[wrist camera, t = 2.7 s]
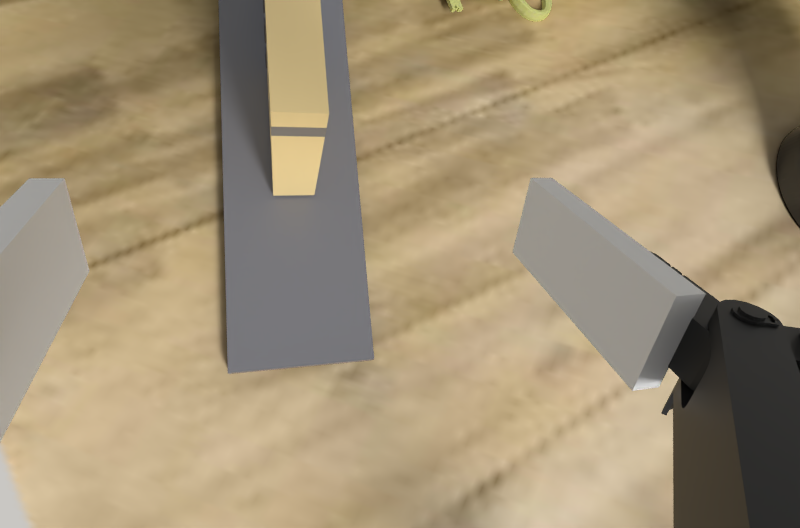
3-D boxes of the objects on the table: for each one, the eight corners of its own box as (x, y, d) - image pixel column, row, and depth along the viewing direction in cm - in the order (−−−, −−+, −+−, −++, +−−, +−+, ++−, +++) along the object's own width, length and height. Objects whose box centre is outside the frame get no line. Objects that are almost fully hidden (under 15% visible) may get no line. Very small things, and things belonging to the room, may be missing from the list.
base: (218, -54, 42) (216, -69, 41) (335, -42, 45) (337, -55, 43) (230, 373, 34) (227, 373, 33) (370, 360, 37) (374, 359, 35)
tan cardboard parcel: (267, 75, 38) (262, -51, 27) (306, 76, 39) (317, -45, 28) (272, 195, 36) (270, 112, 25) (314, 195, 37) (329, 114, 26)
